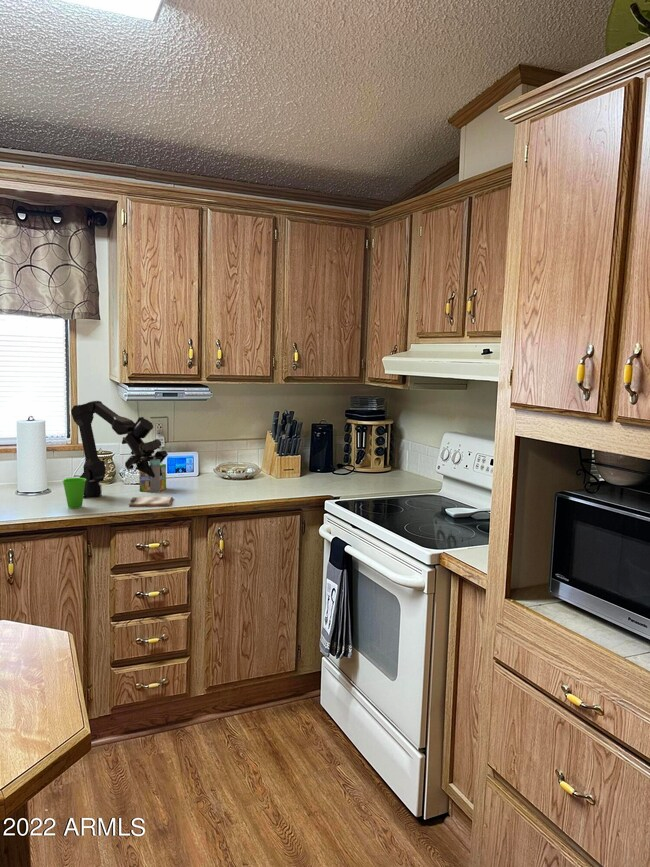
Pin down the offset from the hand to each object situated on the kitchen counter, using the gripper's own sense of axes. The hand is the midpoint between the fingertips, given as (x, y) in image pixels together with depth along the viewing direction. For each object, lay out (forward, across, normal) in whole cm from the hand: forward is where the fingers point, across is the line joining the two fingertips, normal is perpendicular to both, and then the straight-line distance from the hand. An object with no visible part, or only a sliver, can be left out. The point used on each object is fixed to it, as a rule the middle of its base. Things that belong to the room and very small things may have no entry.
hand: (157, 476), depth 260 cm
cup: (-11, -16, +30) cm, 36 cm away
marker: (+4, 0, +6) cm, 7 cm away
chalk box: (-9, +24, +28) cm, 38 cm away
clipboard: (+3, +6, +16) cm, 18 cm away
